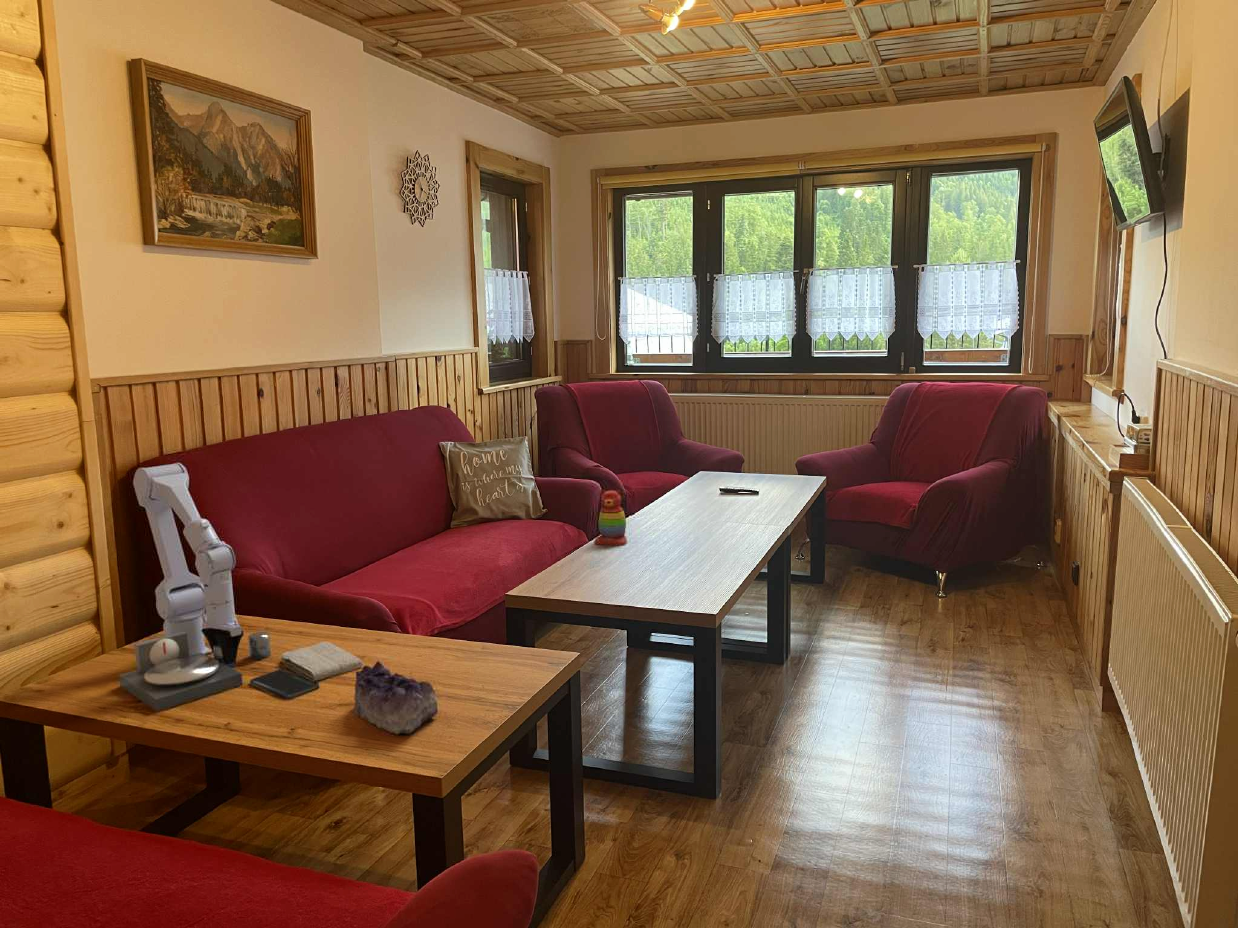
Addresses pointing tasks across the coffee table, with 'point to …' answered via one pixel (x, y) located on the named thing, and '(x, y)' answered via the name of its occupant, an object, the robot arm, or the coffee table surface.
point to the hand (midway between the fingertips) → (225, 660)
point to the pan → (181, 671)
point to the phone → (284, 684)
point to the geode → (393, 700)
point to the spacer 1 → (221, 656)
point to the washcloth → (320, 661)
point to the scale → (173, 695)
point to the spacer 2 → (259, 645)
